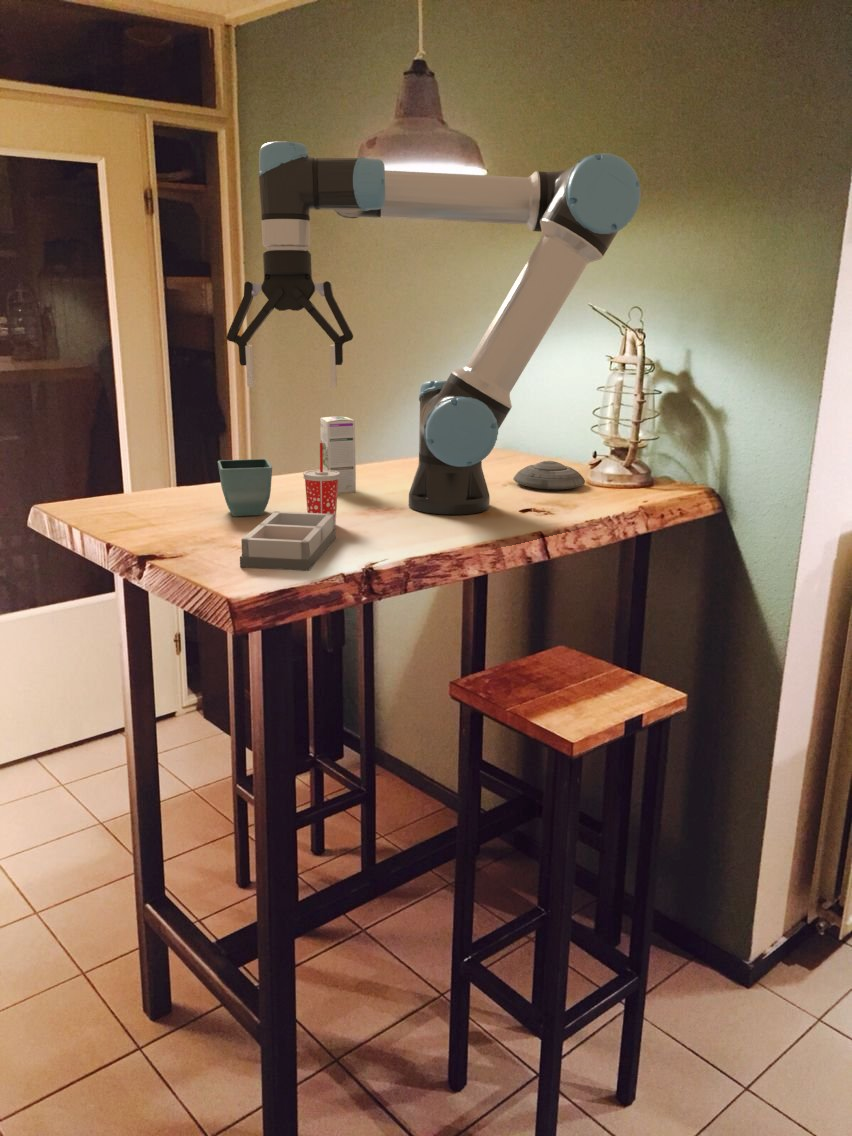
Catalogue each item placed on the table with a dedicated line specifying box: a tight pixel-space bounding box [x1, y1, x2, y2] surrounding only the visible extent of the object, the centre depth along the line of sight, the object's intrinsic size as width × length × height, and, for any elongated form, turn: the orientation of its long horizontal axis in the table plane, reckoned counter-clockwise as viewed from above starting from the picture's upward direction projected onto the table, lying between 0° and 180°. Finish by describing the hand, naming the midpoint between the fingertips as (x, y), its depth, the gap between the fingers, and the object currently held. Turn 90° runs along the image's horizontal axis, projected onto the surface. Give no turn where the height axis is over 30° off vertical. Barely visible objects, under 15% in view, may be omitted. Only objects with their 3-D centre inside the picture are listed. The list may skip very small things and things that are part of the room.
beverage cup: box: [302, 442, 340, 527], centre depth 157 cm, size 6×6×14 cm
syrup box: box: [319, 415, 357, 495], centre depth 184 cm, size 6×6×14 cm
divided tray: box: [239, 510, 337, 571], centre depth 141 cm, size 10×19×4 cm, turn 174°
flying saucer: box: [513, 460, 586, 490], centre depth 196 cm, size 15×15×6 cm
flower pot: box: [217, 458, 273, 517], centre depth 164 cm, size 9×9×9 cm
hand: (292, 386), depth 154 cm, fingers open, 13 cm apart
